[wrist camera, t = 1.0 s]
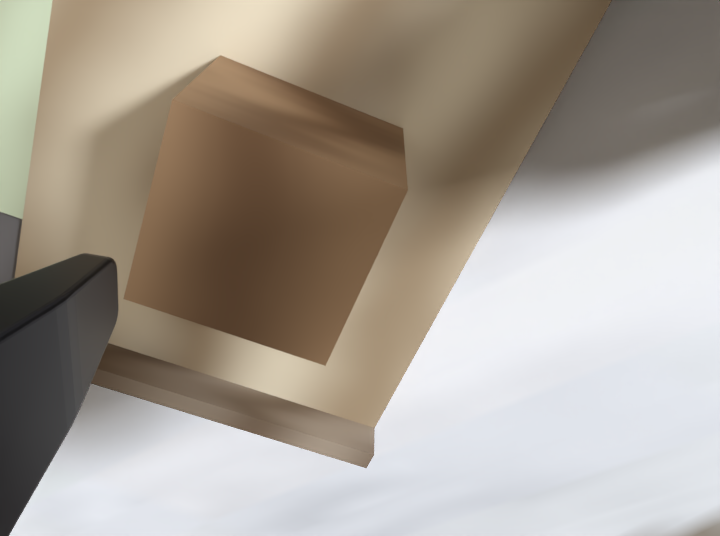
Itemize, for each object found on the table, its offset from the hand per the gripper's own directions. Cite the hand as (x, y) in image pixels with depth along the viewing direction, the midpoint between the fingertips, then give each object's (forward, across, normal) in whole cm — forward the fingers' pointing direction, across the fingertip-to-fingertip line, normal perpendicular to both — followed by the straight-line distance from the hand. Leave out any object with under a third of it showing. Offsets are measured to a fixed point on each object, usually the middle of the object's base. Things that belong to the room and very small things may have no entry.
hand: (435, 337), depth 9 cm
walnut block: (+12, +4, +3) cm, 13 cm away
